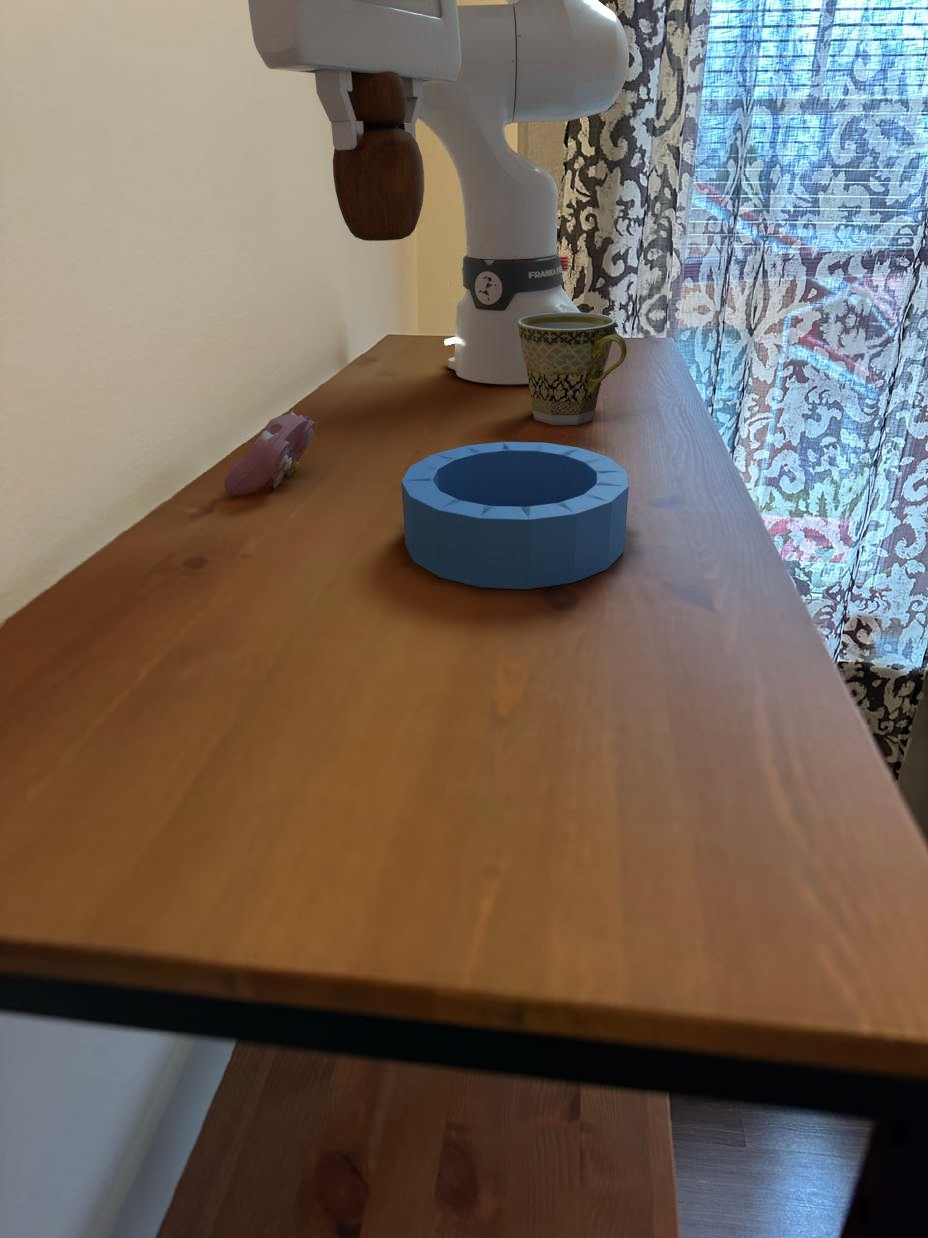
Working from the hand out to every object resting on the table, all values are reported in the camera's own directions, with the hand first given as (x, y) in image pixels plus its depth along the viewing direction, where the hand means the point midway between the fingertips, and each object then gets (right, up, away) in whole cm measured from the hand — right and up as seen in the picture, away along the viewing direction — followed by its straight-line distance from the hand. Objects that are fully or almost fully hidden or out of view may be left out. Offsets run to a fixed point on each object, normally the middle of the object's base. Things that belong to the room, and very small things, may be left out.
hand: (376, 149), depth 62 cm
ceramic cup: (+18, -14, +27) cm, 35 cm away
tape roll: (+10, -29, -1) cm, 31 cm away
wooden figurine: (0, -6, +3) cm, 6 cm away
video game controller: (-10, -23, +12) cm, 28 cm away
